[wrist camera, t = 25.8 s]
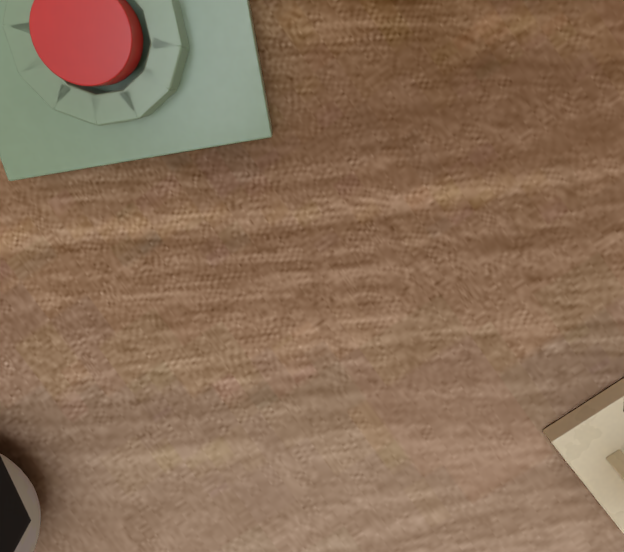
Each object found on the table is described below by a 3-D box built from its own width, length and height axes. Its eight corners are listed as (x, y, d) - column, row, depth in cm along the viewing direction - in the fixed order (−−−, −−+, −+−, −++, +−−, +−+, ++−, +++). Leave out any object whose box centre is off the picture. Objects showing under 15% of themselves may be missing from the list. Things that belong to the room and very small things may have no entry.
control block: (229, -111, 22) (219, -149, 18) (272, 132, 26) (271, 141, 22) (-53, -64, 22) (-120, -92, 18) (29, 173, 26) (-13, 189, 22)
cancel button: (129, -24, 20) (115, -33, 18) (154, 77, 21) (144, 77, 20) (34, -8, 20) (13, -15, 18) (65, 92, 21) (48, 93, 20)
